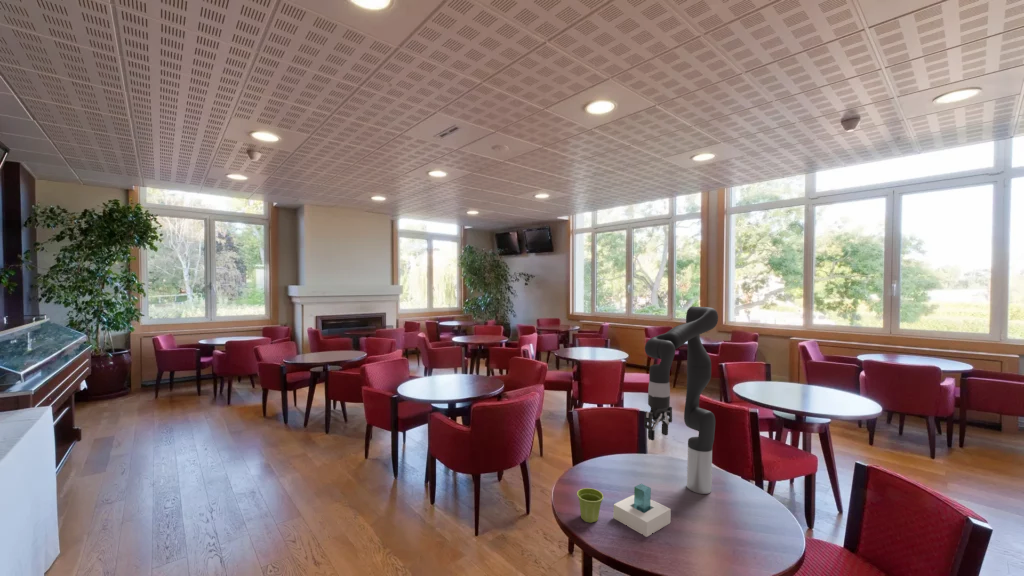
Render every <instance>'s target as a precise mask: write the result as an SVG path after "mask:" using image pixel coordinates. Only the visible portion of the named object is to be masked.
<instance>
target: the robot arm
mask: <svg viewBox="0 0 1024 576" xmlns="http://www.w3.org/2000/svg"><path fill="white" fill-rule="evenodd" d="M718 322H719V314H718V312H717V310H716V309H715V308H713V307H710V306H709V307H708V306H707V307H706V306H694V305H693V306H690V307H689V308H687V311H686V315H685V323H682V324H679V325H677V326H674V327H673V328H670V329H669V330H668V331H667V332H665V333H662V334H659V335H658V334H657V335H656V336H652V337H651V338H649V339H648V340H647V341H646V343H645V346H644V351H645V354H646V355H647V356H648V357H650V358H653V359H660V362H659V363H657V364H652V365H650V367H649V373H648V374H649V376H648V377H649V379H648V389H647V390H648V392H647V404H648V407H650V411H645V412H644V418H643V419H644V420H643V428H644V429H647V439H648V440H650V441H652V442H653V441H655V437H656V436H655V434H656V433H655V431H656V430H655V429H656V426H658V425H659V423H660V422H661V434H662V436H663V435H664V436H668V435H669V425H670V423H672V422H673V407H672V406H671V405H670V404H671V400H670V399H671V385H670V371H671V369H672V364H673V361H674V359H675V356H676V355H675V354H676V350H677V349H678V348H680V347H682V346H683V345H684V344H685V343H687V360H686V392H685V393H686V395H685V404H684V412H683V421H684V423H685V426H686V427H687V428H688V429H692V430H694V431H697V432H698V436H692V437H689V438H688V439H687V463H686V464H687V466H686V468H687V470H686V471H687V473H686V487H687V489H688V490H689V491H691V492H693V493H695V494H700V495H701V494H702V495H707V494H710V493H711V492H712V487H713V486H712V484H713V482H712V481H713V445H714V441H715V434H716V433H715V431H716V417H715V413H713V412H712V411H711V410H707V409H705V408H701V407H700V398H701V394H702V393H703V391H704V390H705V388H706V387H707V386H708V384H709V382H710V381H711V378H712V360H711V357H710V355H709V353H708V352H707V349H706V348H705V347H704V345H703V343H702V340H701V337H700V336H701V335H702V334H705V333H706V332H710V331H711V330H713V329H714V328H716V327H717V324H718Z"/></svg>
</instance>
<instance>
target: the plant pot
mask: <svg viewBox="0 0 1024 576" xmlns="http://www.w3.org/2000/svg"><path fill="white" fill-rule="evenodd" d="M576 495H577V498H578V501H579V509H580V511H579V512H580V517H581V518H580V519H582V520H583V521H584V522H586V523H589V524H590V523H591V524H592V523H594V522H595V523H596V522H598V520H599V517H600V510H601V504H602V501H603V500H604V494H603V492H602V491H600V490H598V489H596V488H591V487H589V488H588V487H585V488H581V489H578V490H577V492H576Z"/></svg>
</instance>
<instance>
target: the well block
mask: <svg viewBox="0 0 1024 576" xmlns="http://www.w3.org/2000/svg"><path fill="white" fill-rule="evenodd" d="M671 511H672V509H671V508H670V507H667V506H665V505H663V504H661V503H659V502H658V501H655V500H653V499H651V503H650V510H649V511H647V512H645V513H643V512H641V511H639V510H637V509H635V508H634V494H632V495H629V496H628V497H626V498H624V499H622V500H620V501H617V502H616V503H614V504H613V515H612V516H613V519H614V520H616V521H618V522H620V523H621V524H623V525H625V526H626V525H627V527H628V528H630V529H632V530H634V531H636V532H637V533H639V534H641V535H642V534H643V535H642V536H644V537H645V538H648V537H649V536H651V535H653V534H655V532H658V531H659V530H660V529H662V528H664V527H666V526H667V525H669V524H670V523H671V519H672V517H671V516H672V515H671V513H672V512H671ZM652 533H653V534H652Z"/></svg>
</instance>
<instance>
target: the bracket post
mask: <svg viewBox="0 0 1024 576" xmlns="http://www.w3.org/2000/svg"><path fill="white" fill-rule="evenodd" d="M633 489H634V492H633V493H634V494H633V495H634V508H635V509H637V510H639V511H641V512H643V513H645V512H647V511H649V510H650V503H651V500H652V499H651V498H652V497H651V496H652V493H651V491H652V488H651V487H649V486H648V485H645V484H644V483H639V484H637V485H636V486H634V487H633Z"/></svg>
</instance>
